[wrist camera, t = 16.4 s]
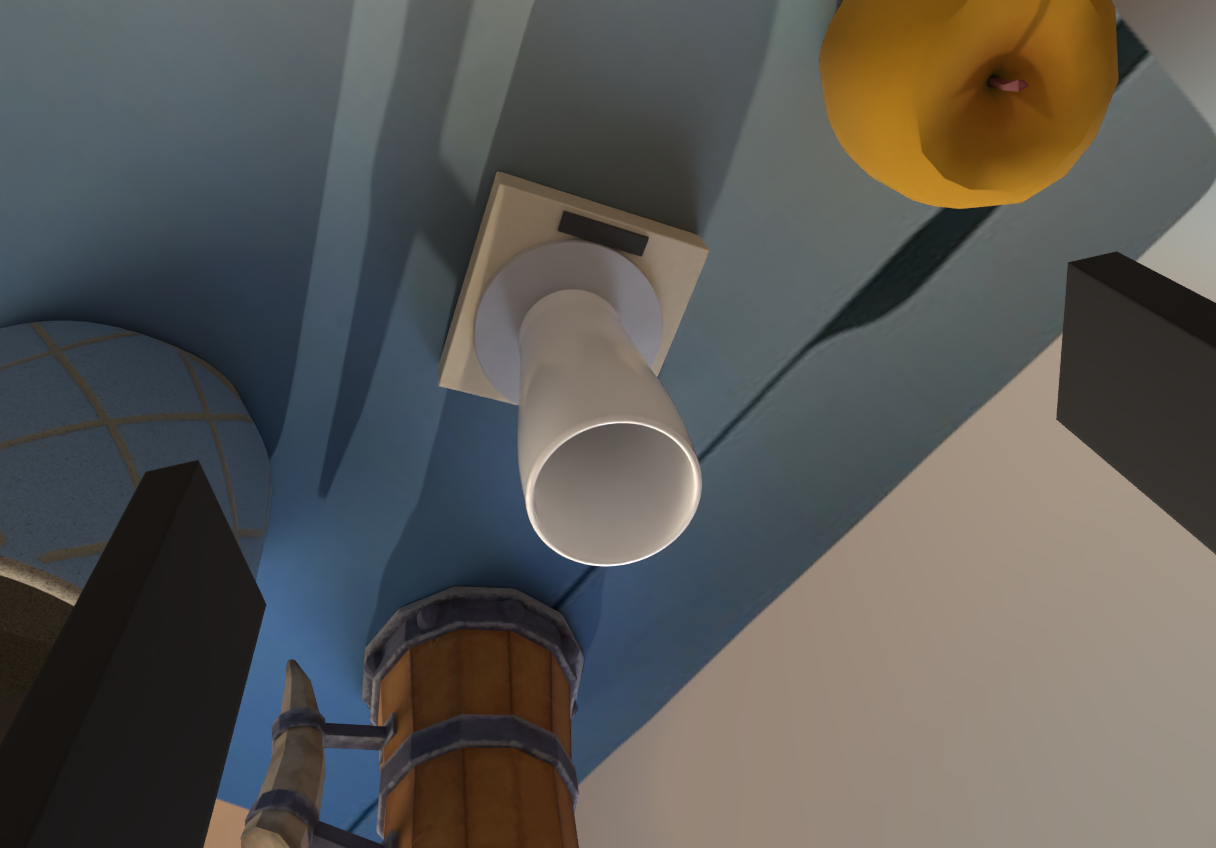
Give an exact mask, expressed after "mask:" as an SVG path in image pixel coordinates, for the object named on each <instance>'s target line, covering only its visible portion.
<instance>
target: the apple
mask: <svg viewBox="0 0 1216 848" xmlns="http://www.w3.org/2000/svg"><path fill="white" fill-rule="evenodd" d="M819 61H820V71H821V80H822V87H823V94H824V101H825V106H826V110H827V114H828V118H829V121H830V123H831V126H832V128H833V130H834V132H835V134H836V136H837V138H838V140H839V142H840V144H841V146H842V147H843V149H844V150H845V151H846V152H847V153H848V154H849V156H850V157H851V158H852V159H853V160H854V161H855V162H856V163H857V164H858V165H859V166H860V167H861V168H862V169H863V170H864V171H865V172H867V173H868V174H869V175H870V176H871V177H872V178H874V179H876V180H878V181H879V182H881V183H883V184H885V185H887V186H888V187H890V188H892V189H894V190H895V191H897V192H899V193H901V194H903V195H904V196H906V197H908V198H910V199H911V200H915V201H918V202H921V203H925V204H928V205H932V206H939V207H949V208H958V209H963V208H973V207H983V206H993V205H1003V204H1013V203H1022V202H1023V201H1025V200H1027V199H1028V198H1030V197H1031V196H1033V195H1035V194H1036V193H1038V192H1040V191H1041V190H1043V189H1044V188H1046V187H1048V186H1049V185H1051V184H1052V183H1054V182H1056V181H1057V180H1059V179H1060V178H1062V177H1064V176H1065V175H1066V174H1067V173H1068V171H1069V170H1070V169H1071V168H1072V167H1073V165H1074V164H1075V163H1076V162H1077V160H1078V159H1079V158H1080V157H1081V155H1082V154H1083V153H1084V152H1085V150H1086V149H1087V148H1088V147H1089V145H1090V144H1091V143H1092V142H1093V140H1094V139H1095V138H1096V136H1097V133H1098V131H1099V128H1100V126H1101V123H1102V121H1103V118H1104V115H1105V113H1106V110H1107V108H1108V105H1109V103H1110V100H1111V98H1112V95H1113V93H1114V90H1115V88H1116V85H1117V83H1118V60H1117V38H1116V16H1115V6H1114V4H1113V3H1112V1H1111V0H843V2H842V3H841V5H840V7H839V9H838V10H837V12H836V14H835V15H834V17H833V19H832V21H831V22H830V24H829V27H828V29H827V32H826V35H825V38H824V40H823V43H822V46H821V51H820V58H819Z"/></svg>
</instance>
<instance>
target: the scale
mask: <svg viewBox="0 0 1216 848" xmlns="http://www.w3.org/2000/svg"><path fill="white" fill-rule="evenodd" d="M709 251H710V250H709V248H708V247H707V246H706V244H705V243H704V242H703V240H702V239H701V238H700V236H699V235H697V234H694V233H691V232H688V231H684V230H681V229H678V228H675V227H672V226H669V225H666V224H663V223H659V222H656V221H653V220H650V219H647V218H644V217H641V216H637V215H634V214H631V213H628V212H625V211H622V210H619V209H616V208H612V207H609V206H606V205H603V204H600V203H597V202H594V201H591V200H587V199H584V198H581V197H578V196H575V195H572V194H569V193H566V192H562V191H559V190H556V189H553V188H550V187H547V186H544V185H541V184H537V183H534V182H531V181H528V180H525V179H522V178H519V177H516V176H512V175H509V174H506V173H503V172H500V171H497V173H496V176H495V179H494V183H493V186H492V189H491V193H490V196H489V199H488V203H487V206H486V209H485V212H484V216H483V219H482V222H481V226H480V229H479V232H478V236H477V239H476V242H475V246H474V249H473V252H472V256H471V259H470V262H469V266H468V269H467V272H466V275H465V279H464V282H463V285H462V289H461V292H460V295H459V299H458V302H457V305H456V309H455V312H454V315H453V319H452V322H451V325H450V329H449V332H448V335H447V339H446V342H445V345H444V348H443V352H442V355H441V358H440V362H439V367H438V385H439V386H442V387H446V388H450V389H454V390H458V391H462V392H466V393H470V394H474V395H478V396H482V397H486V398H490V399H494V400H498V401H502V402H506V403H510V404H514V405H518V397H519V370H520V356H519V350H518V334H519V329H520V326H521V323H522V321H523V318H524V317H525V315H526V313H527V312H528V311H529V309H530V308H531V307H532V306H533V305H534V304H535V303H536V302H537V301H539V300H540V299H541V298H543V297H545V296H547V295H549V294H551V293H553V292H556V291H560V290H565V289H580V290H586V291H589V292H592V293H594V294H597V295H599V296H600V297H602V298H603V299H605V300H606V301H607V302H608V303H610V304H611V306H612V307H613V308H614V309H615V310H616V312H617V313H618V315H619V317H620V319H621V321H622V323H623V326H624V328H625V330H626V331H627V333H628V334H629V336H630V338H631V339H632V341H633V342H634V344H635V345H636V347H637V348H638V350H639V351H640V353H641V354H642V356H643V357H644V358H645V360H646V361H647V363H648V364H649V366H650V367H651V369H652V370H653V372H654V373H655V375H656V376H657V377H658V375H659V372H660V370H661V367H662V365H663V363H664V360H665V358H666V355H667V353H668V350H669V348H670V346H671V343H672V341H673V338H674V336H675V333H676V331H677V329H678V326H679V324H680V321H681V319H682V317H683V314H684V312H685V309H686V307H687V304H688V302H689V300H690V297H691V295H692V292H693V290H694V287H695V285H696V283H697V280H698V278H699V275H700V273H701V271H702V268H703V266H704V263H705V261H706V258H707V256H708V254H709Z"/></svg>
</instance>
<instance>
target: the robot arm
mask: <svg viewBox="0 0 1216 848" xmlns="http://www.w3.org/2000/svg"><path fill="white" fill-rule="evenodd" d="M1056 419H1057V420H1058V421H1059V422H1060V423H1061V424H1062V425H1064V426H1065V427H1066V428H1067V429H1068V430H1069V431H1071V432H1072V433H1073V434H1074V435H1075V436H1077V437H1078V438H1079V439H1080V440H1081V441H1082V442H1084V443H1085V444H1086V445H1087V446H1088V447H1090V448H1091V449H1092V450H1093V451H1094V452H1096V453H1097V454H1098V455H1099V456H1100V457H1102V458H1103V459H1104V460H1105V461H1106V462H1107V463H1108V464H1110V465H1111V466H1112V467H1113V468H1114V469H1116V470H1117V471H1118V472H1119V473H1120V474H1121V475H1123V476H1124V477H1125V478H1126V479H1127V480H1128V481H1130V482H1131V483H1132V484H1133V485H1134V486H1136V487H1137V488H1138V489H1139V490H1140V491H1141V492H1143V493H1144V494H1145V495H1146V496H1147V497H1149V498H1150V499H1151V500H1152V501H1153V502H1155V503H1156V504H1157V505H1158V506H1159V507H1160V508H1162V509H1163V510H1164V511H1165V512H1166V513H1167V514H1169V515H1170V516H1171V517H1172V518H1173V519H1174V520H1176V521H1177V522H1178V523H1179V524H1180V525H1182V526H1183V527H1184V528H1185V529H1186V530H1187V531H1189V532H1190V533H1191V534H1192V535H1194V536H1195V537H1196V538H1197V539H1198V540H1199V541H1201V542H1202V543H1203V544H1204V545H1205V546H1206V547H1208V548H1209V549H1210V550H1211V551H1212V552H1213V553H1215V554H1216V303H1215V302H1213V301H1211V300H1209V299H1207V298H1205V297H1203V296H1201V295H1199V294H1197V293H1195V292H1194V291H1191V290H1190V289H1188V288H1186V287H1184V286H1182V285H1180V284H1178V283H1176V282H1174V281H1172V280H1171V279H1169V278H1167V277H1165V276H1163V275H1161V274H1159V273H1157V272H1155V271H1153V270H1151V269H1149V268H1147V267H1146V266H1144V265H1142V264H1140V263H1138V262H1136V261H1134V260H1132V259H1130V258H1128V257H1126V256H1124V255H1122V254H1121V253H1119V252H1112V253H1108V254H1104V255H1099V256H1095V257H1090V258H1086V259H1082V260H1077V261H1073V262H1068V271H1067V284H1066V298H1065V311H1064V324H1063V338H1062V351H1061V365H1060V378H1059V391H1058V404H1057V418H1056ZM265 607H266V603H265V601H264V598H263V596H262V594H261V592H260V590H259V588H258V586H257V583H256V581H255V579H254V577H253V575H252V573H251V571H250V569H249V566H248V564H247V562H246V560H245V558H244V556H243V554H242V551H241V549H240V547H239V545H238V543H237V541H236V539H235V537H234V534H233V532H232V530H231V528H230V526H229V524H228V522H227V519H226V517H225V515H224V513H223V511H222V509H221V507H220V505H219V502H218V500H217V498H216V496H215V494H214V492H213V490H212V488H211V485H210V483H209V481H208V479H207V477H206V475H205V473H204V470H203V468H202V466H201V464H200V462H199V460H195V461H191V462H186V463H182V464H177V465H173V466H169V467H164V468H160V469H155V470H151V471H147V472H145V474H144V476H143V477H142V479H141V481H140V483H139V485H138V487H137V489H136V491H135V492H134V494H133V496H132V498H131V500H130V502H129V504H128V506H127V508H126V509H125V511H124V513H123V515H122V517H121V519H120V521H119V523H118V524H117V526H116V528H115V530H114V532H113V534H112V536H111V538H110V540H109V541H108V543H107V545H106V547H105V549H104V551H103V553H102V555H101V556H100V558H99V560H98V562H97V564H96V566H95V568H94V570H93V572H92V573H91V575H90V577H89V579H88V581H87V583H86V585H85V587H84V588H83V590H82V592H81V594H80V596H79V598H78V600H77V602H76V604H75V605H74V607H73V609H72V611H71V613H70V615H69V617H68V619H67V620H66V622H65V624H64V626H63V628H62V630H61V632H60V634H59V635H58V637H57V639H56V641H55V643H54V645H53V647H52V649H51V651H50V652H49V654H48V656H47V658H46V660H45V662H44V664H43V666H42V667H41V669H40V671H39V673H38V675H37V677H36V679H35V681H34V683H33V684H32V686H31V688H30V690H27V691H23V692H18V693H14V694H10V695H6V696H2V698H1V699H0V848H203V846H204V843H205V839H206V835H207V832H208V828H209V824H210V819H211V816H212V812H213V808H214V804H215V801H216V797H217V793H218V789H219V785H220V781H221V777H222V774H223V770H224V766H225V762H226V758H227V754H228V750H229V746H230V743H231V739H232V735H233V731H234V727H235V723H236V719H237V716H238V712H239V708H240V704H241V700H242V696H243V692H244V688H245V685H246V681H247V677H248V673H249V669H250V665H251V661H252V658H253V654H254V650H255V646H256V642H257V638H258V634H259V630H260V627H261V623H262V619H263V615H264V611H265Z"/></svg>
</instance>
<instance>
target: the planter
mask: <svg viewBox="0 0 1216 848" xmlns="http://www.w3.org/2000/svg"><path fill="white" fill-rule="evenodd" d="M195 460H199V462H200V464H201V466H202V468H203V470H204V473H205V475H206V477H207V479H208V481H209V483H210V485H211V488H212V490H213V492H214V494H215V496H216V498H217V500H218V502H219V505H220V507H221V509H222V511H223V513H224V515H225V517H226V519H227V522H228V524H229V526H230V528H231V530H232V532H233V534H234V537H235V539H236V541H237V543H238V545H239V547H240V549H241V551H242V554H243V556H244V558H245V560H246V562H247V564H248V566H249V569H250V571H251V573H252V575H253V577H254V579H255V581H256V577H257V573H258V568H259V564H260V559H261V554H262V550H263V545H264V541H265V536H266V532H267V527H268V523H269V518H270V513H271V504H272V475H271V467H270V463H269V458H268V455H267V451H266V448H265V445H264V443H263V440H262V438H261V436H260V434H259V432H258V430H257V428H256V426H255V424H254V422H253V420H252V418H251V417H250V415H249V413H248V411H247V410H246V408H245V406H244V404H243V402H242V400H241V398H240V396H239V394H238V392H237V391H236V389H235V387H234V386H233V385H232V383H231V382H230V381H229V380H228V379H227V378H226V377H225V376H224V375H223V374H222V373H221V372H219V371H218V370H217V369H215V368H214V367H213V366H211V365H210V364H208V363H206V362H205V361H203V360H202V359H200V358H198V357H196V356H194V355H193V354H191V353H189V352H186V351H184V350H182V349H180V348H178V347H175V346H173V345H171V344H168V343H166V342H163V341H161V340H158V339H155V338H152V337H150V336H146V335H143V334H140V333H137V332H134V331H130V330H126V329H123V328H119V327H114V326H109V325H105V324H98V323H91V322H81V321H40V322H31V323H24V324H18V325H13V326H9V327H4V328H1V329H0V699H1V698H2V696H6V695H10V694H14V693H18V692H23V691H27V690H30V688H31V686H32V684H33V683H34V681H35V679H36V677H37V675H38V673H39V671H40V669H41V667H42V666H43V664H44V662H45V660H46V658H47V656H48V654H49V652H50V651H51V649H52V647H53V645H54V643H55V641H56V639H57V637H58V635H59V634H60V632H61V630H62V628H63V626H64V624H65V622H66V620H67V619H68V617H69V615H70V613H71V611H72V609H73V607H74V605H75V604H76V602H77V600H78V598H79V596H80V594H81V592H82V590H83V588H84V587H85V585H86V583H87V581H88V579H89V577H90V575H91V573H92V572H93V570H94V568H95V566H96V564H97V562H98V560H99V558H100V556H101V555H102V553H103V551H104V549H105V547H106V545H107V543H108V541H109V540H110V538H111V536H112V534H113V532H114V530H115V528H116V526H117V524H118V523H119V521H120V519H121V517H122V515H123V513H124V511H125V509H126V508H127V506H128V504H129V502H130V500H131V498H132V496H133V494H134V492H135V491H136V489H137V487H138V485H139V483H140V481H141V479H142V477H143V476H144V474H145V472H147V471H151V470H155V469H160V468H164V467H169V466H173V465H177V464H182V463H186V462H191V461H195Z"/></svg>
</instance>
